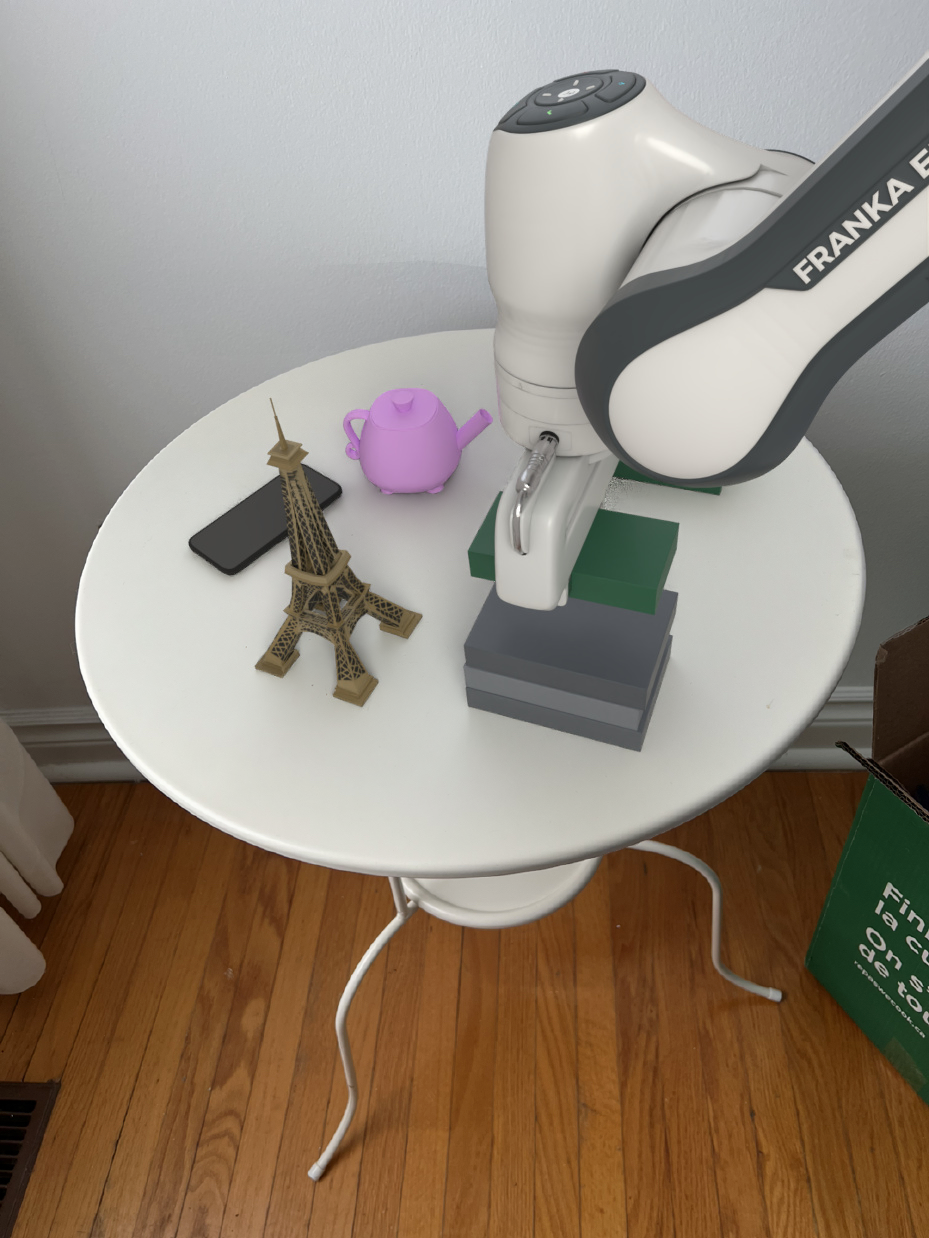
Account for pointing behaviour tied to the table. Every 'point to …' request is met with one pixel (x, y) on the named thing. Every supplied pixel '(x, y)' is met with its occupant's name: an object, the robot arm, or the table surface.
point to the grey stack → (571, 666)
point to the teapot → (410, 440)
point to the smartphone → (255, 524)
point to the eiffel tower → (323, 586)
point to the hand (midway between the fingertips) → (573, 557)
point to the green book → (603, 559)
